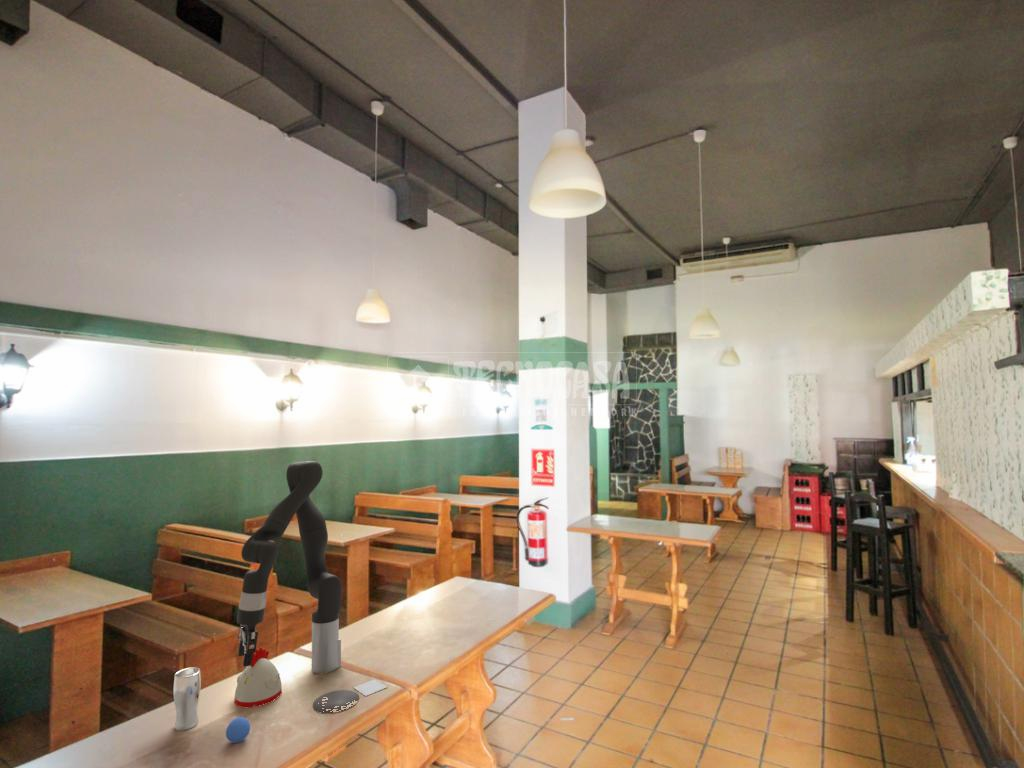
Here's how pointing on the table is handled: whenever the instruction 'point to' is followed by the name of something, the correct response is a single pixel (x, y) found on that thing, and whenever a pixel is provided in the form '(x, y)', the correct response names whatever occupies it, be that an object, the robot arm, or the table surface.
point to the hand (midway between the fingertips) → (244, 660)
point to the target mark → (335, 700)
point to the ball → (238, 730)
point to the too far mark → (370, 687)
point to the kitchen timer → (258, 682)
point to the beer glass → (186, 697)
